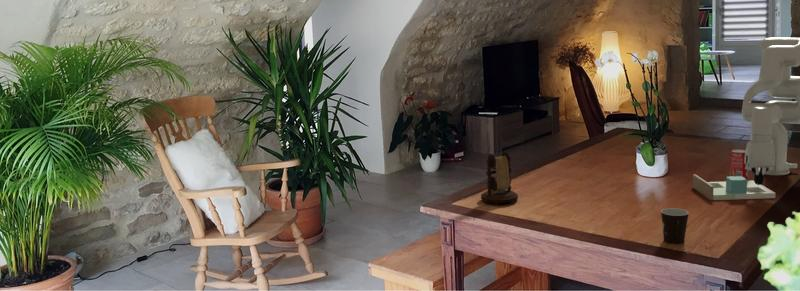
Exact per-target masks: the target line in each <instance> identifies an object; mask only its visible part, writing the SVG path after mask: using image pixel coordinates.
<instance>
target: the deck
mask: <svg viewBox="0 0 800 291" xmlns="http://www.w3.org/2000/svg"><path fill="white" fill-rule="evenodd" d="M692 188H693V189H694V190H696V192H698V193H700V194H701V195H703V196H704V197H706V199H708V200H710V201H726V200H727V201H729V200H730V201H732V200H753V199H754V200H755V199H776V195H777V194H776V192H774V191H773V190H771V189H769V188H767V187H766V186H765V185H763V184H762V185H757V184H755V182H754V180H747V194H730V193H729V192H728V191H726V180H724V181H706V180H704V179H703V178H702V177H700V176H699V175H698V174H696V173H695V174H693V175H692Z"/></svg>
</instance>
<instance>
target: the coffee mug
mask: <svg viewBox="0 0 800 291" xmlns="http://www.w3.org/2000/svg"><path fill="white" fill-rule="evenodd" d="M660 212H661V213H660V214H661V223H662V225H661V226H662V234H663V235H662V236H663V242H665V243H667V244H672V245H680V244H683V243H684V242H685V238H686V232H687V227H688V226H687V225H688V221H689V220H688V219H689V215H690V214H689V213H690V212H689V211H688V210H686V209H683V208H674V207H672V208H671V207H669V208H663V209H661V210H660Z"/></svg>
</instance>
